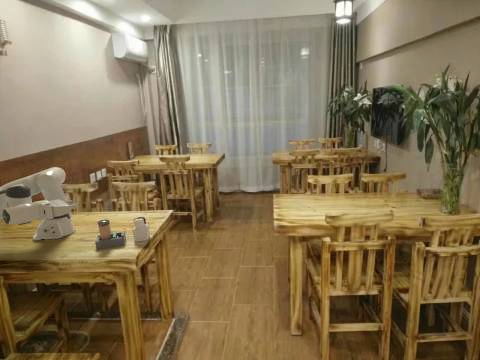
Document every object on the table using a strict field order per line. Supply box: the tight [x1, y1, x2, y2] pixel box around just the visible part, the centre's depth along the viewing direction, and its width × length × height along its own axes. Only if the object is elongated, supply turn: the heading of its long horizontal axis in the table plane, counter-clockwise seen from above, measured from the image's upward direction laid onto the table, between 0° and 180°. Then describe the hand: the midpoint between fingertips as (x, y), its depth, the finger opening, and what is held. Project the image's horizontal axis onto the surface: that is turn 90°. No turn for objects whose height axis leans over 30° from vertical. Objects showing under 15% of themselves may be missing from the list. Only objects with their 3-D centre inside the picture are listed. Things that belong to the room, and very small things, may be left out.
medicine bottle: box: [132, 216, 151, 243], centre depth 189 cm, size 7×7×12 cm
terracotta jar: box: [97, 218, 112, 240], centre depth 185 cm, size 6×6×12 cm
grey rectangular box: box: [94, 230, 127, 250], centre depth 187 cm, size 14×10×5 cm
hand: (75, 203), depth 174 cm, fingers open, 8 cm apart
